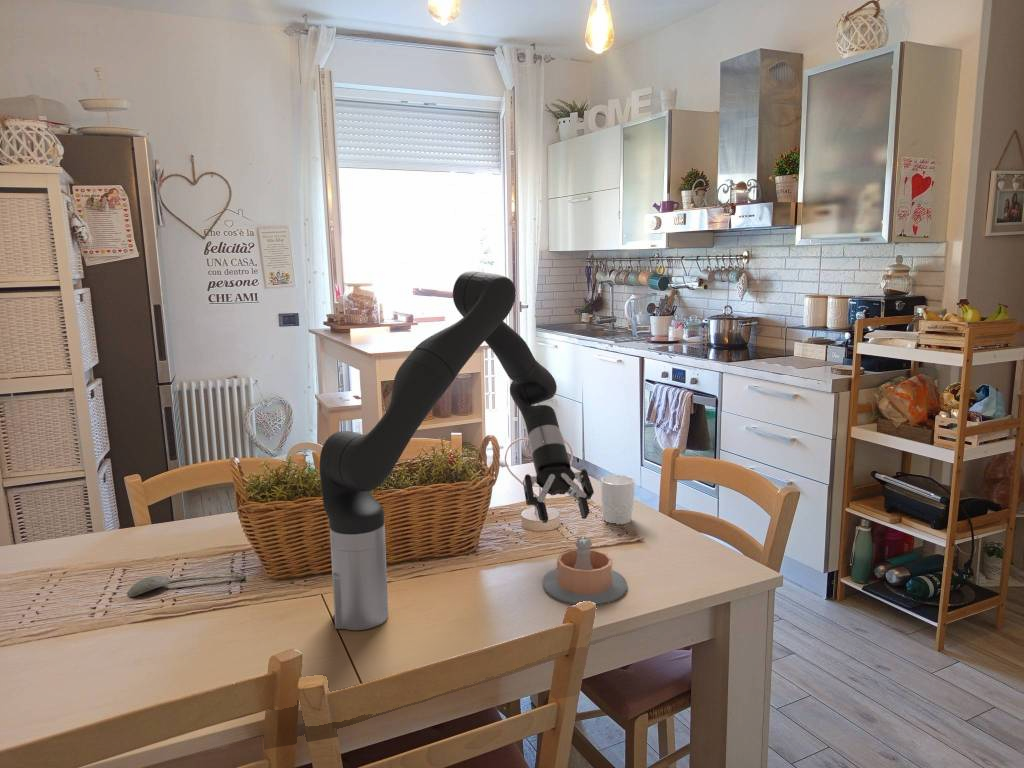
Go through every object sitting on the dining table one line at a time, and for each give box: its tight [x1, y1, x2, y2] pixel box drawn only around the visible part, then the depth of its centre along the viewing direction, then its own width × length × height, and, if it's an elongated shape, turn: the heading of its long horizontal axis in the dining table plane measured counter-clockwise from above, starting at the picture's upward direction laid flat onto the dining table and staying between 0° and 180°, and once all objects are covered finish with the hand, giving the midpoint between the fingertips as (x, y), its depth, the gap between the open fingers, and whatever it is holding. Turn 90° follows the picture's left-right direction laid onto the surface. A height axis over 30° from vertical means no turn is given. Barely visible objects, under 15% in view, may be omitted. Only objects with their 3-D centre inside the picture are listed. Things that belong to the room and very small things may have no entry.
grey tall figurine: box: [574, 536, 593, 570], centre depth 138 cm, size 4×4×8 cm
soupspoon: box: [126, 572, 249, 599], centre depth 141 cm, size 22×3×7 cm
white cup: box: [600, 474, 635, 525], centre depth 173 cm, size 8×8×10 cm
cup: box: [542, 548, 628, 606], centre depth 138 cm, size 16×16×5 cm
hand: (565, 519), depth 148 cm, fingers open, 8 cm apart
